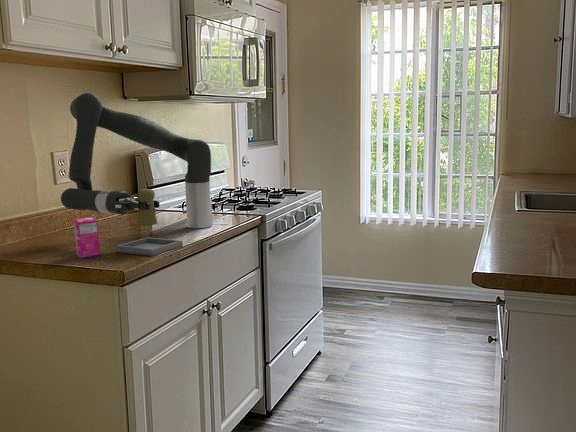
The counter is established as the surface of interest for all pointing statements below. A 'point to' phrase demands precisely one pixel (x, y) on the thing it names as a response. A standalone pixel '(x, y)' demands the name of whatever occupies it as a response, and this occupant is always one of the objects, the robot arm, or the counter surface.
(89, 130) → the robot arm
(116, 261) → the counter surface
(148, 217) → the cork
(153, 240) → the tray
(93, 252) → the supplement box
